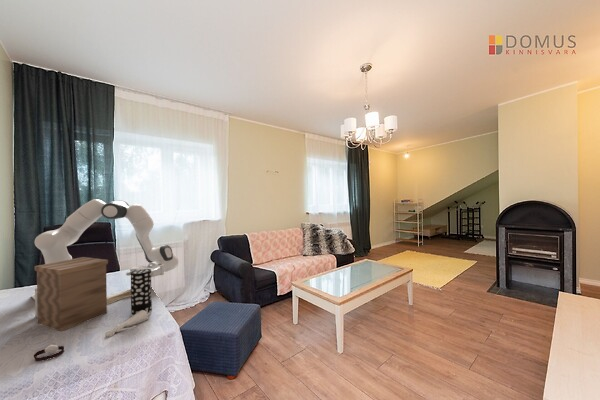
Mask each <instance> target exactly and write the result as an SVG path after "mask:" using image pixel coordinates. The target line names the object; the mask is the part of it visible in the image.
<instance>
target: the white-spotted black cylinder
mask: <svg viewBox="0 0 600 400" xmlns="http://www.w3.org/2000/svg"><path fill="white" fill-rule="evenodd" d="M130 289H131V296H130V300H131V301H130V310H131V311H130V313H131V317H132V316H134V315H135V314H137V313H138V312H140V311H141V310H144V311H147V310H148V313H149V311H150V310H151V311H152V310H153V309H152V308H153V307H152V305H153V304H152V303H153V302H152V298H153V297H152V277H151V269H141V270H136V271H133V272H131V275H130ZM148 313H147V314H148Z"/></svg>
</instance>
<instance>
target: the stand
mask: <svg viewBox="0 0 600 400" xmlns="http://www.w3.org/2000/svg"><path fill="white" fill-rule="evenodd" d="M108 264H109V259H103V258H95V257H88V256H80V257H77V258H72V259H71V260H65V261H60V262H55V263H49V264H45V263H44V264H39V265H35V266H34V271H35V272H36V288H37V317H36V318H37V324H38V325H40V326H44V327H46V328H47V327H48V328H49V329H53V330H56V331H59V332H63V331H66V330H67V329H70V328H74V327H75V326H78V325H80V324H83V323H86V322H88V321H90V320H93V319H96V318H97V317H100V316H103V315H106V314H107V313H108V304H107V297H108V295H107V265H108Z"/></svg>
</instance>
